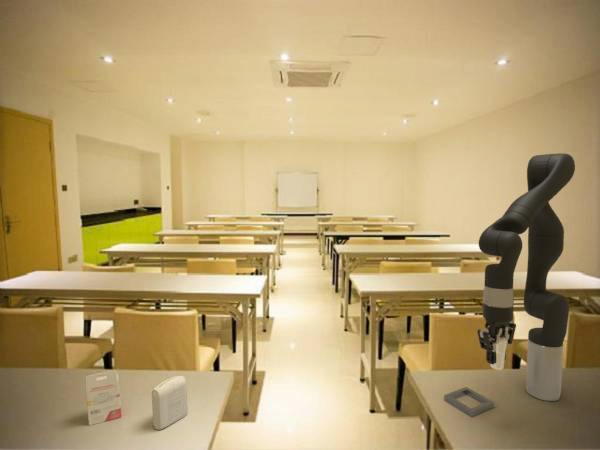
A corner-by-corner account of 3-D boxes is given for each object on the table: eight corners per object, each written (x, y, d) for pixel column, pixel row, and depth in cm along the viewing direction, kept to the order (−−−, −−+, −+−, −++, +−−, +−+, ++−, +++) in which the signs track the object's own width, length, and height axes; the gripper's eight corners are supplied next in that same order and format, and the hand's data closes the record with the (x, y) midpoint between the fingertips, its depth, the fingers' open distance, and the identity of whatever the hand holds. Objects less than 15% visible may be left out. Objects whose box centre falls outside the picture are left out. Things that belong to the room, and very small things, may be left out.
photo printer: (181, 409, 115) (179, 370, 113) (190, 414, 112) (188, 374, 111) (150, 427, 106) (148, 385, 105) (159, 432, 104) (157, 390, 103)
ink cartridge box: (121, 408, 115) (118, 363, 114) (121, 417, 111) (118, 370, 109) (89, 416, 112) (85, 369, 110) (88, 426, 107) (84, 376, 106)
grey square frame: (466, 391, 122) (466, 386, 122) (494, 407, 113) (494, 402, 113) (444, 399, 117) (444, 395, 117) (471, 416, 108) (471, 411, 108)
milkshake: (498, 362, 109) (500, 328, 108) (509, 371, 104) (511, 336, 103) (483, 362, 109) (484, 329, 108) (493, 371, 104) (494, 336, 103)
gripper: (501, 294, 111) (499, 350, 113) (468, 302, 104) (467, 361, 106) (527, 301, 104) (524, 360, 106) (493, 310, 98) (491, 373, 100)
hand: (496, 360), depth 106 cm, fingers closed on milkshake, 4 cm apart
